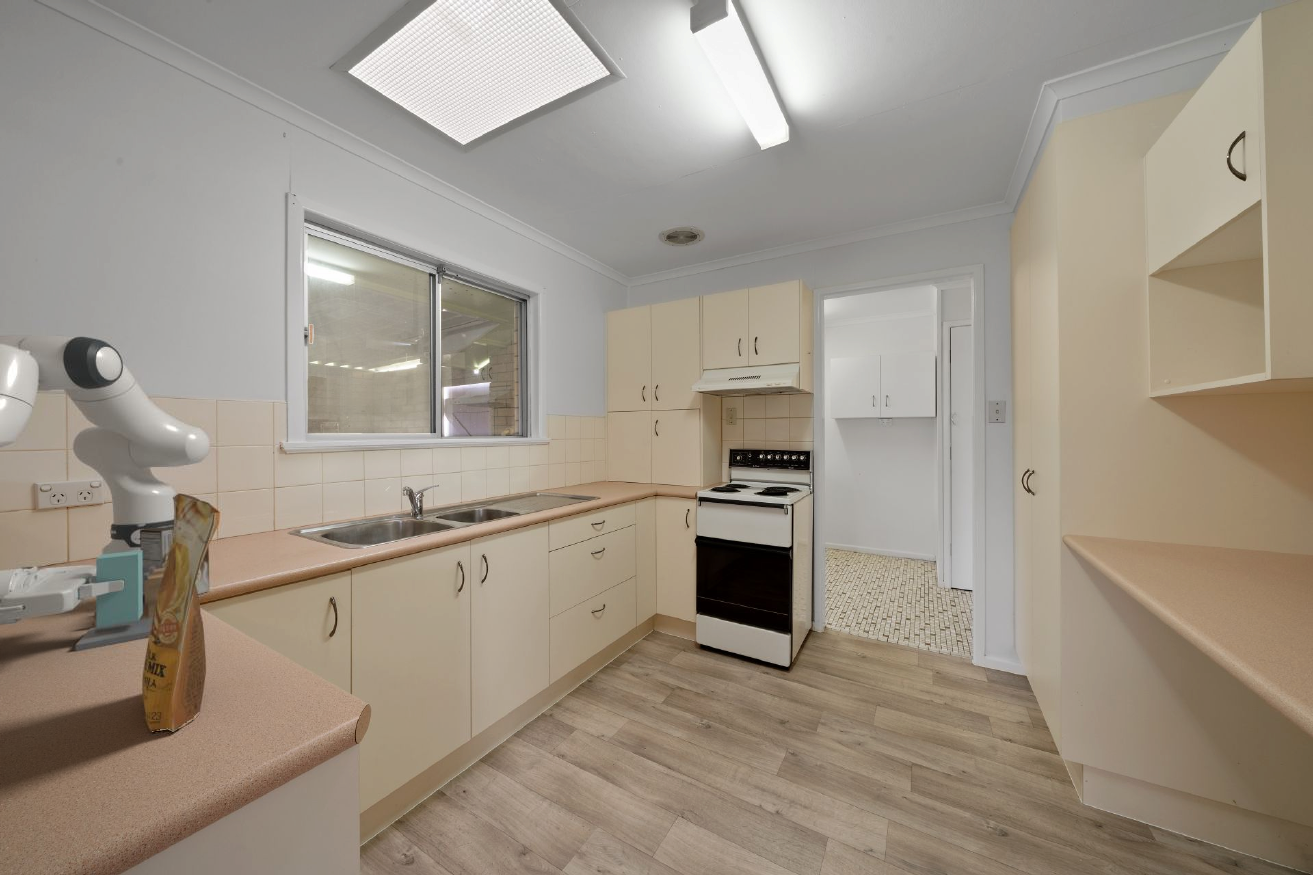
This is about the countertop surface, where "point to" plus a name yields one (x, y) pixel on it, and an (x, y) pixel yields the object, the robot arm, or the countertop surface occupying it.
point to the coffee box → (157, 550)
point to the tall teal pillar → (126, 601)
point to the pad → (115, 634)
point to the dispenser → (149, 592)
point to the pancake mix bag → (179, 622)
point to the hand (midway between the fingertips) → (127, 580)
